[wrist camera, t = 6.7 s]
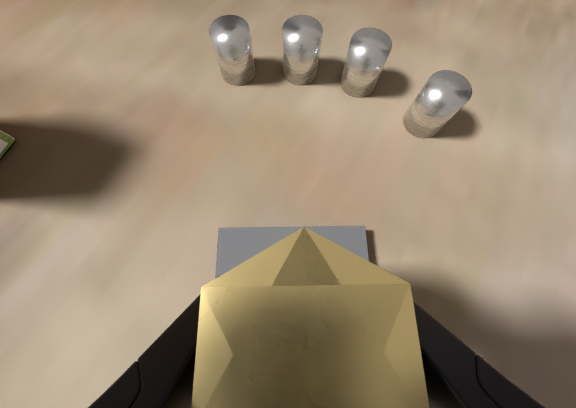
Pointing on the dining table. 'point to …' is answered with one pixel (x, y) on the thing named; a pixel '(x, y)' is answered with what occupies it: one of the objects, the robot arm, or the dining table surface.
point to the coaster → (253, 240)
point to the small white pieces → (5, 142)
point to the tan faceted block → (308, 332)
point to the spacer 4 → (437, 103)
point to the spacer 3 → (365, 61)
